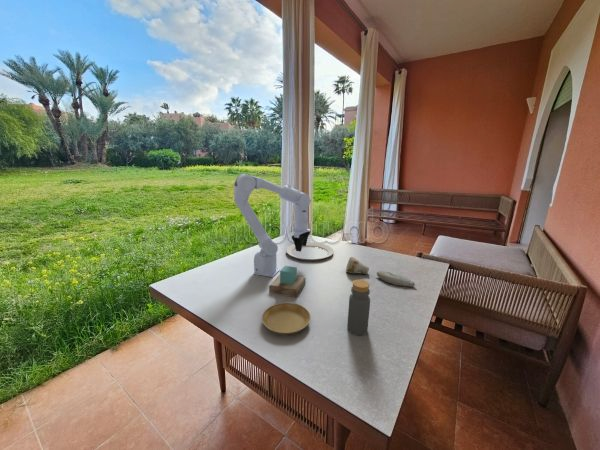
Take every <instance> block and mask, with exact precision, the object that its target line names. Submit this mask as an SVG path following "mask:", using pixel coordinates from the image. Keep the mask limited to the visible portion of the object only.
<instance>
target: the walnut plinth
mask: <svg viewBox="0 0 600 450" xmlns="http://www.w3.org/2000/svg"><path fill="white" fill-rule="evenodd" d="M306 280H307V279H306V277H305V276H300V275H297V280H296V281H295V282H294V284H293V285H289V284H283V283H280V274H279V275H278V276H276V277H275V279H274V280H273V281H272V282H271V283H270V284H269V286H268V292H269V293H270V294H276V295H280V296H287V297H293V298H298V296H299V295H300V293H301V291H302V290H303V288H304V287H305V285H306Z"/></svg>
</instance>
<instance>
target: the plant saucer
mask: <svg viewBox="0 0 600 450" xmlns="http://www.w3.org/2000/svg"><path fill="white" fill-rule="evenodd" d="M261 321H262V324H263V325H264V326H265V327H266V328H267V330H270V331H271V332H272V333H275V334H277V335H281V336H289V335H294V334H297V333H299V332H301V331H302V330H304V329H305V328H307V326H308V325H309V323H310V321H311V314H310V311H309V310H308V309H307V308H306V307H305V306H303V305H301V304H298V303H294V302H280V303H276V304H273V305H271V306H269V307H268V308H266V309H265V310H264V311H263V313H262V314H261Z"/></svg>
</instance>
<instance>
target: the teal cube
mask: <svg viewBox="0 0 600 450" xmlns="http://www.w3.org/2000/svg"><path fill="white" fill-rule="evenodd" d="M279 275H280V283H283V284H289V285H293V284H294V282H295V281H296V280H297V276H298V267H295V266H289V265H284V266H282V269H281V268H280V270H279Z"/></svg>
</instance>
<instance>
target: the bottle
mask: <svg viewBox="0 0 600 450" xmlns="http://www.w3.org/2000/svg"><path fill="white" fill-rule="evenodd" d="M350 289H351V294H350V295H349V299H348V300H349V301H348V311H347V313H348V314H347V326H346V327H347V330H348V332H349V333H351V335H355V336H365V335H366V334H367V333H368V328H369V326H368V325H369V318H370V308H371V298H370V296H369V295H370V293H371V292H370V291H371V290H370V283H369V282H368V281H367V280H363V279H354V280H353V281H352V286H351V287H350Z"/></svg>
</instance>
